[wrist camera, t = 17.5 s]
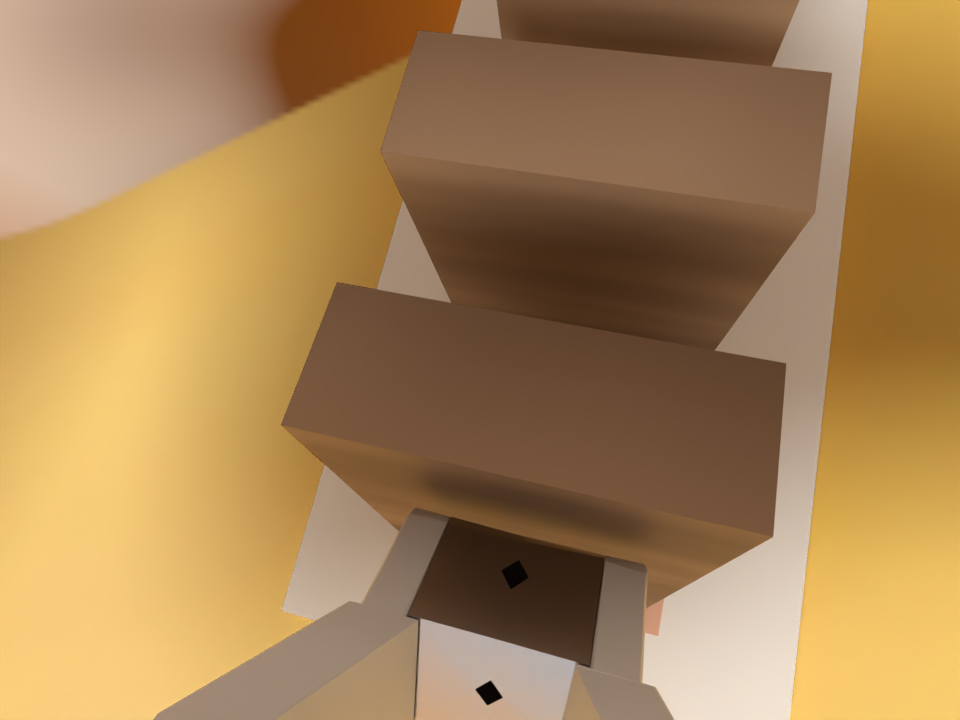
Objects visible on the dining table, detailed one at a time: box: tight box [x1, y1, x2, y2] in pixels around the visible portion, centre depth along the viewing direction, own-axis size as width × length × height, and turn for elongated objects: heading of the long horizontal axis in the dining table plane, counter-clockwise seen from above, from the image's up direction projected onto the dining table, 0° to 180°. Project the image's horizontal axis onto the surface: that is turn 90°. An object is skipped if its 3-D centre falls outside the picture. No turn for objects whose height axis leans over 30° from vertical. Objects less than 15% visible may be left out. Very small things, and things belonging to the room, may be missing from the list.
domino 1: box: [497, 0, 799, 67], centre depth 14 cm, size 2×5×10 cm, turn 76°
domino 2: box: [381, 30, 832, 350], centre depth 13 cm, size 2×5×10 cm, turn 77°
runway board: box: [281, 0, 868, 720], centre depth 19 cm, size 12×26×1 cm, turn 167°
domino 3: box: [281, 282, 786, 608], centre depth 11 cm, size 2×5×10 cm, turn 77°
